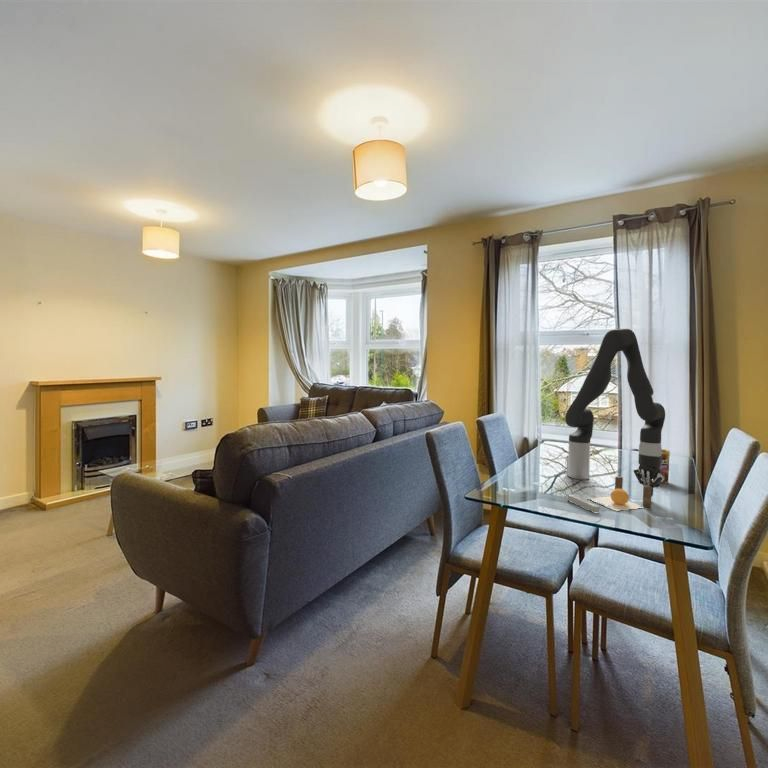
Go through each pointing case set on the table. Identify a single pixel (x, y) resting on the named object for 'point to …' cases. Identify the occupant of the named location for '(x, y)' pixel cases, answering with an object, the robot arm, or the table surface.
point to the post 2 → (647, 496)
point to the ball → (619, 496)
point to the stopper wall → (583, 503)
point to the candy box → (665, 464)
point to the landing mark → (615, 506)
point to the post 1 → (618, 482)
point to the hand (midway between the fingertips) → (648, 496)
